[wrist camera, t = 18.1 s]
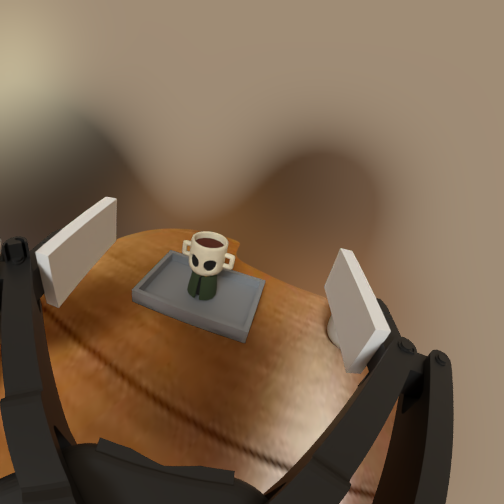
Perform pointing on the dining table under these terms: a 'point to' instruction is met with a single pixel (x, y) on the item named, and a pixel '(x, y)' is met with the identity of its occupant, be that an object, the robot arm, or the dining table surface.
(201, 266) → the character mug
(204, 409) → the dining table surface
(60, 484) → the robot arm
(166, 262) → the tray
